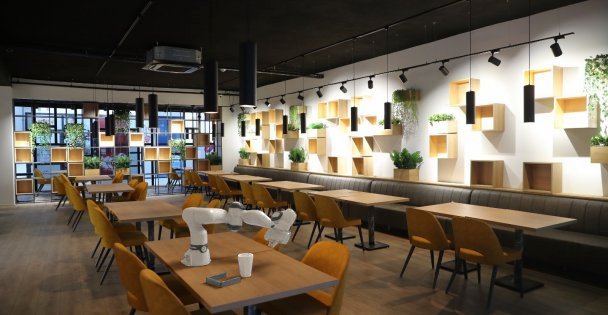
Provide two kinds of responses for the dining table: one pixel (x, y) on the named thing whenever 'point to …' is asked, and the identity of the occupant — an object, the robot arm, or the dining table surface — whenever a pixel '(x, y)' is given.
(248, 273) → the foam cup
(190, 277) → the dining table surface
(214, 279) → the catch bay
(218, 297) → the dining table surface
